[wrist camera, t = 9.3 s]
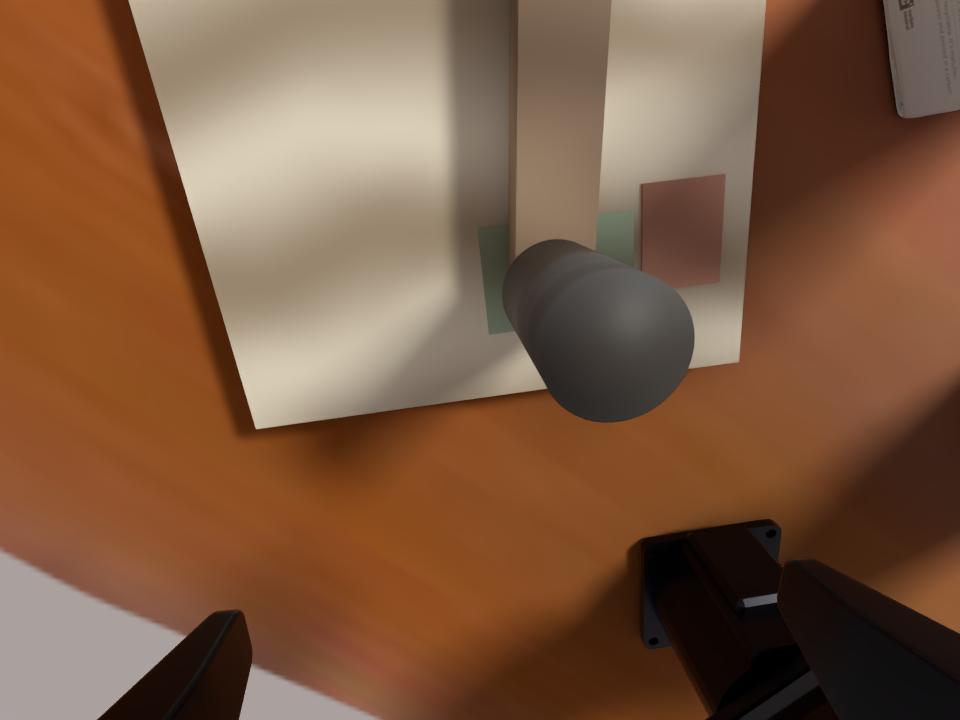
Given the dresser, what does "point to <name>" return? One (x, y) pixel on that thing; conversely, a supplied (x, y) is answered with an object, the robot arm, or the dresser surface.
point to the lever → (577, 229)
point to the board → (434, 184)
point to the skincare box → (924, 55)
